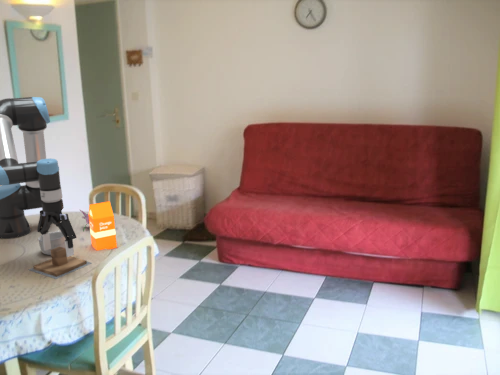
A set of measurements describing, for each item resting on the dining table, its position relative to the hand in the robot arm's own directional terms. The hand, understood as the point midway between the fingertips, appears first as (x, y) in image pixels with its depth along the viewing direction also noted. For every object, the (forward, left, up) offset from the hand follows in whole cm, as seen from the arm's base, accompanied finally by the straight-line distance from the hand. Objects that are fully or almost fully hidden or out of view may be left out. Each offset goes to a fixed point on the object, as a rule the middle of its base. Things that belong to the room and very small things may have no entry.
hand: (58, 252), depth 195 cm
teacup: (-16, +10, -7) cm, 20 cm away
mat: (0, 0, -6) cm, 6 cm away
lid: (0, 0, -6) cm, 6 cm away
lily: (-26, +37, -7) cm, 46 cm away
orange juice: (-2, +24, -7) cm, 25 cm away
